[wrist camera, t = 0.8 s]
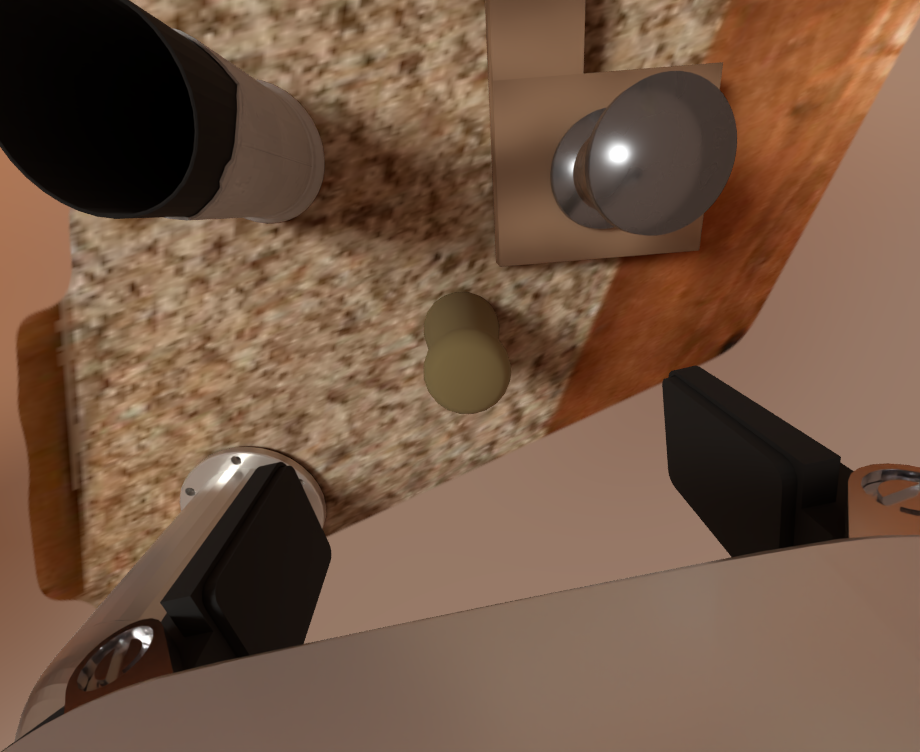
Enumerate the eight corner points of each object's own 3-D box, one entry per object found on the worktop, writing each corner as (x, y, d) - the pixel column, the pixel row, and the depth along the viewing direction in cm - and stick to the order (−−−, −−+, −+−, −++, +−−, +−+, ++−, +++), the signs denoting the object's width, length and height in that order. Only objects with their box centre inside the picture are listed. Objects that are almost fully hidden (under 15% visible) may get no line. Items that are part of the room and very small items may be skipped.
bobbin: (652, 224, 29) (724, 229, 22) (550, 232, 29) (587, 241, 22) (662, 105, 26) (748, 64, 19) (550, 114, 26) (592, 77, 19)
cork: (513, 313, 34) (543, 360, 23) (476, 377, 35) (489, 445, 25) (445, 277, 32) (445, 309, 22) (410, 345, 34) (396, 403, 24)
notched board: (680, 247, 32) (699, 250, 30) (496, 262, 32) (500, 266, 30) (726, -157, 24) (756, -196, 22) (478, -138, 24) (482, -175, 22)
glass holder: (292, 247, 31) (170, 278, 17) (91, 128, 28) (-258, 50, 14) (346, 132, 29) (254, 60, 15) (132, -13, 25) (-246, -279, 12)
